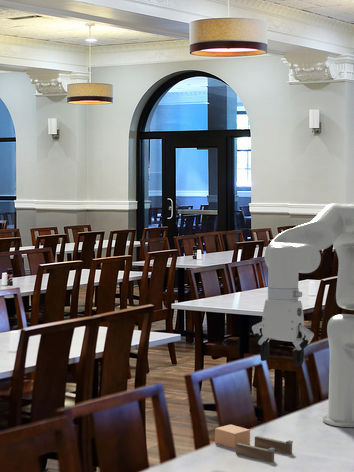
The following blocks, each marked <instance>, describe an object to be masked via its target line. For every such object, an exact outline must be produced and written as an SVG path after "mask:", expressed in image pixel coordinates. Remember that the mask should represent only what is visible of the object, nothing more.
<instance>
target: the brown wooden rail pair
mask: <svg viewBox="0 0 354 472" xmlns="http://www.w3.org/2000/svg"><path fill="white" fill-rule="evenodd" d="M293 441H294V440H290V439H289V440H286V441H284V440H283V441H282V440H278V439H273V438H269V437H264V436H260V435H256V436H254V445H251V444H248V445H246V444H242V443H237V444H236V448H235V455H239V456H244V457H249V458H252V459H257V460H261V461H265V462H270V463H273V462H275V452H278V453H282V454H287V455H291V454H293V443H294V442H293Z"/></svg>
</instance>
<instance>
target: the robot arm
mask: <svg viewBox="0 0 354 472" xmlns="http://www.w3.org/2000/svg"><path fill="white" fill-rule="evenodd" d="M331 246H333V248H334V250H335V252H336V254H337V255H336V256H337V259H338V268H337V269H338V271H337V281H336V290H335V291H336V292H335V301H336V304H337V306H338V307H339V308H341V309H344V310H349V311H354V203H353V202H333V203H329V204H326V206H325V207H323V208H322V209H321V210H320V211H319V213H317V214H316V216H314V217H313V218H312V219H311V220H310V221H309V222H306V223H303V224H300V225H298V226H295V227H293V228H289V229H286V230H284V231H282V232H281V233H278V234H277V235H276V236H275V237H274V238H273V239H272V240H271V241H270V243H268V245H267V247H266V249H265V251H264V263H265V266H267V268H268V270H267V274H268V275H267V276H268V277H267V298H266V299H265V302H264V306H263V309H262V310H263V311H262V319H261V321H260V322H258V323H256V324H253V325H252V326H251V330H252V332H253V336H254V337H255V339H256V341H257V344H258V345H259V346H260V347H259V351H260V352H259V355H260V361H261V362H264V361H269V360H270V353H271V352H270V351H271V350H270V348H271V347H270V343H269V342H270V340H275V341H281V342H282V341H283V342H292V344H293V345H294V347H295V348H296V349H295V350H293V353H294V354H293V355H294V356H293V365H294V367H300V366H302V365H303V363H304V360H305V350H306V348H307V347H308V346H309V345H310V344H311V342H312V340H313V338H314V336H315V333H314V332H313V331H311V330H310V329H309V328H307V327H306V326H305V318H304V311H303V310H304V309H303V303H302V301H301V300H299V298H302V297H303V291H299V289H300V288H299V273H300V274H309V273H313V272H315V271H316V270H317V269H318V268H319V266H320V264H321V259H322V256H321V252H320V251H323V250H326V249H328V248H330V247H331ZM260 329H261V331H260ZM326 332H327V338H328V348H329V371H328V372H329V375H328V376H329V377H328V379H329V380H328V405H327V406H328V408H327V414H324V415H323V416H322V422H324V423H325V424H328V425H330V426H335V427H341V428H354V314H347V313H341V314H336V315H332V316H331V317H330V319H329V320H328V322H327V327H326ZM303 339H304V340H303Z"/></svg>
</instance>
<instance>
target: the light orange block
mask: <svg viewBox="0 0 354 472" xmlns="http://www.w3.org/2000/svg"><path fill="white" fill-rule="evenodd" d="M214 443H216V444H219V445H222V446H225V447H229V448H233V449H236V444H237V443H242V444H246V445H251V429H248V428H245V427H243V426H237V425H234V424H227V425H224V426H223V425H222V426H219V427H216V428H215V429H214Z"/></svg>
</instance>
